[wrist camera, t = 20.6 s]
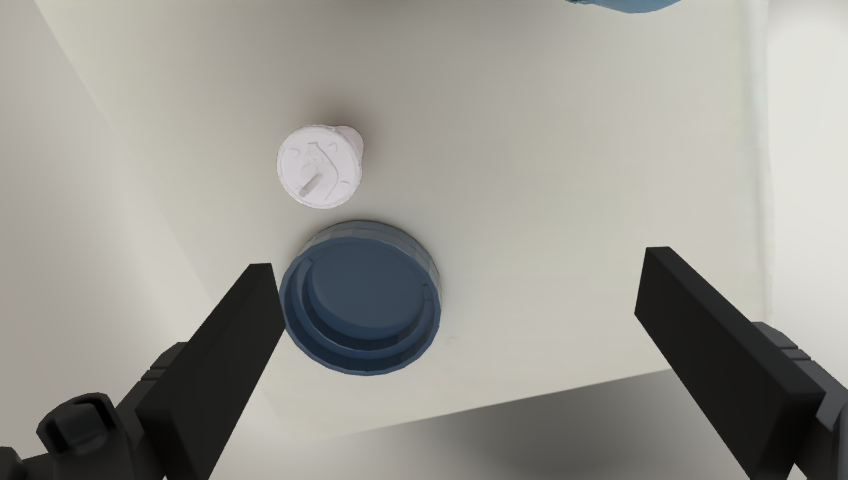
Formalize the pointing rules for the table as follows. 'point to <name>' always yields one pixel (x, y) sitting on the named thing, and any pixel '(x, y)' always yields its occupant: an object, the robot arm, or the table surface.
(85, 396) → the robot arm
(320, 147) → the smoothie
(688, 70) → the table surface
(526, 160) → the table surface
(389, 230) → the bowl
